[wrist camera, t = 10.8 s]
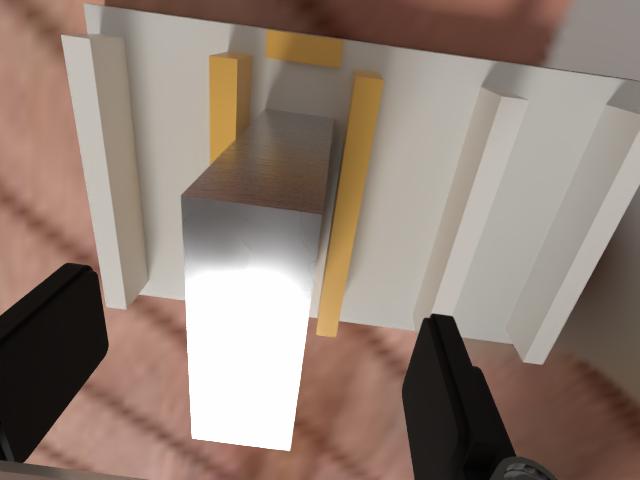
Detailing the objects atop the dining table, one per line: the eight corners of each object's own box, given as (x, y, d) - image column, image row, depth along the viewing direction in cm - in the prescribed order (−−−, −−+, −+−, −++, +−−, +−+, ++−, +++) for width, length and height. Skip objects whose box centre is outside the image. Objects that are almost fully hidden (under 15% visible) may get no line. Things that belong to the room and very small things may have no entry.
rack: (515, 327, 24) (544, 380, 20) (135, 277, 24) (99, 321, 20) (630, 79, 17) (704, 93, 14) (103, 5, 17) (40, -1, 13)
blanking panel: (312, 272, 21) (289, 450, 12) (256, 265, 21) (192, 438, 12) (333, 118, 17) (322, 214, 8) (264, 108, 17) (180, 195, 8)
